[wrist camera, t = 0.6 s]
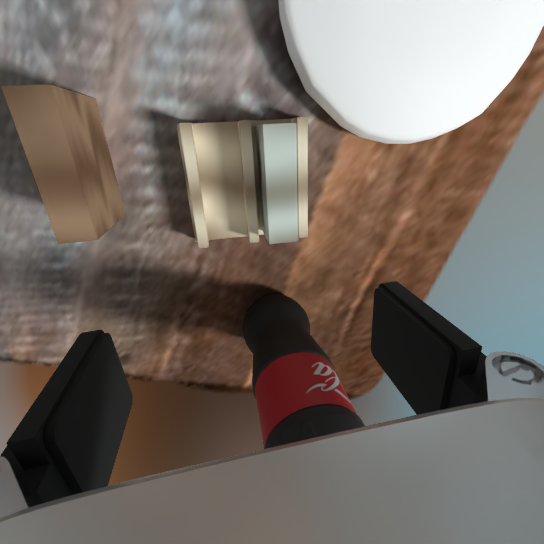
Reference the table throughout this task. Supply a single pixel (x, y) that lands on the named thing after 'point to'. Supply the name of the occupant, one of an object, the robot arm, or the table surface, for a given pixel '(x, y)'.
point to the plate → (407, 60)
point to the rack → (247, 178)
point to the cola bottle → (293, 376)
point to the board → (67, 159)
